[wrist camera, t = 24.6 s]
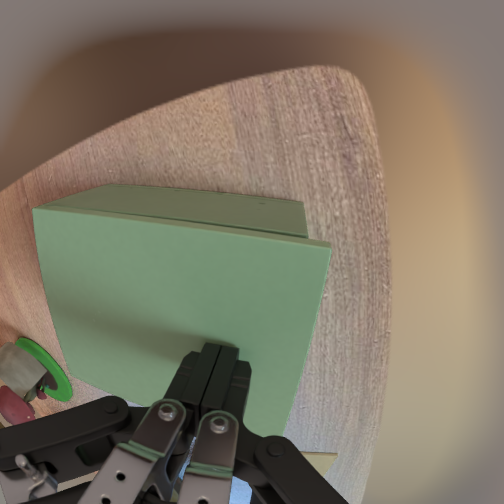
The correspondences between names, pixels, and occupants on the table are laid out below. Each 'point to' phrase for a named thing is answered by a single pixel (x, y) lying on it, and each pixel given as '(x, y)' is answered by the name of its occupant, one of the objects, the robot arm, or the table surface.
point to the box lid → (179, 302)
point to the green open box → (194, 207)
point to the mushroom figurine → (28, 380)
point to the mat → (320, 460)
